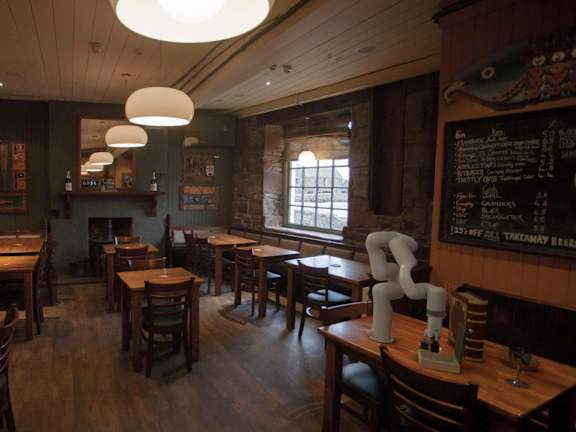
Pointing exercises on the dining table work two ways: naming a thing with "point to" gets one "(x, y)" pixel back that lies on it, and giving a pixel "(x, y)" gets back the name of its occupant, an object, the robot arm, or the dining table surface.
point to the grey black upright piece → (425, 341)
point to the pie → (505, 358)
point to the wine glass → (519, 363)
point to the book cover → (461, 341)
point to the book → (438, 361)
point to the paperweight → (430, 345)
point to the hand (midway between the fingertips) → (433, 349)
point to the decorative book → (468, 323)
